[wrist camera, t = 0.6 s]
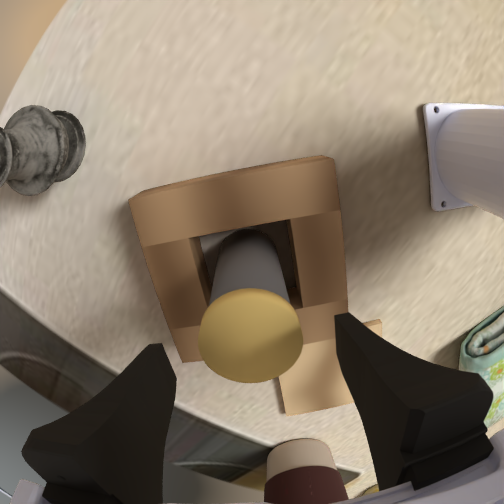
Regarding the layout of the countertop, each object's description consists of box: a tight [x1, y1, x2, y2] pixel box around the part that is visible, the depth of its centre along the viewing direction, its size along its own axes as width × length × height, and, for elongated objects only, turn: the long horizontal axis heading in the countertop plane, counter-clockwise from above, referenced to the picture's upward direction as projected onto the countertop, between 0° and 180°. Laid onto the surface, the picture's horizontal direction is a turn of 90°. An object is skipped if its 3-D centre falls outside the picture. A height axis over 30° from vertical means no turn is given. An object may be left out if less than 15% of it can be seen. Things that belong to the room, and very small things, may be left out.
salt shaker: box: [0, 105, 86, 196], centre depth 13 cm, size 6×6×12 cm
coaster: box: [279, 319, 382, 416], centre depth 26 cm, size 9×9×1 cm
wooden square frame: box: [128, 155, 348, 363], centre depth 21 cm, size 12×12×3 cm
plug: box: [198, 229, 303, 383], centre depth 18 cm, size 4×4×10 cm
